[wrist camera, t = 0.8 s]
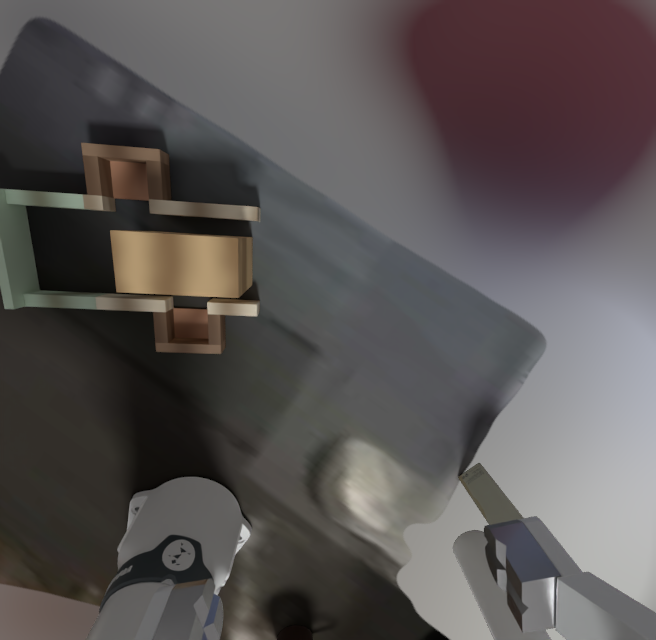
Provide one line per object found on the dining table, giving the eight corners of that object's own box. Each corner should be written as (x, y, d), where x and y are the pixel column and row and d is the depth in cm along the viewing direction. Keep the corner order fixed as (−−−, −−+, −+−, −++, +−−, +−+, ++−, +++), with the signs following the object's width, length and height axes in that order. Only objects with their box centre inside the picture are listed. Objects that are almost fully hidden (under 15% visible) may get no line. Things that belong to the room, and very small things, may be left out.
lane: (260, 162, 38) (257, 157, 36) (259, 348, 44) (256, 355, 42) (15, 142, 36) (-6, 135, 33) (48, 341, 42) (32, 347, 39)
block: (252, 237, 40) (238, 238, 32) (252, 284, 42) (238, 298, 33) (153, 231, 39) (110, 230, 31) (156, 279, 41) (116, 292, 32)
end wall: (23, 191, 37) (-10, 187, 33) (41, 302, 40) (14, 309, 37) (14, 191, 37) (-20, 186, 33) (33, 301, 40) (4, 308, 37)
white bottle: (468, 524, 55) (596, 752, 31) (497, 538, 56) (642, 768, 32) (445, 551, 56) (550, 792, 32) (474, 564, 57) (597, 805, 33)
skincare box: (456, 476, 52) (501, 546, 40) (479, 460, 51) (531, 527, 40) (476, 499, 54) (524, 574, 42) (498, 485, 53) (553, 556, 41)
